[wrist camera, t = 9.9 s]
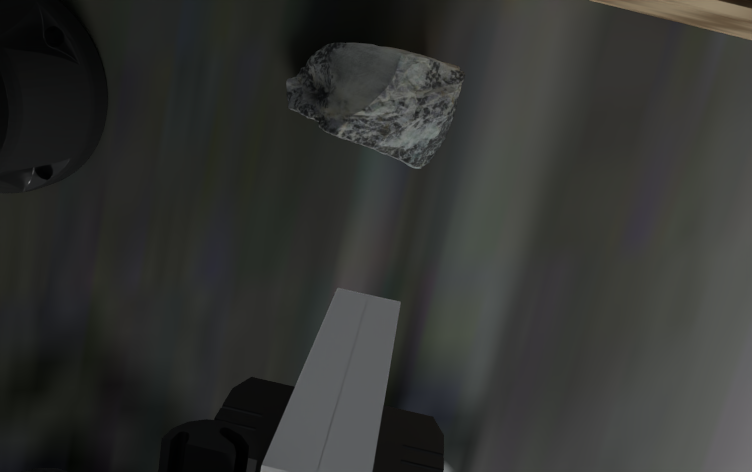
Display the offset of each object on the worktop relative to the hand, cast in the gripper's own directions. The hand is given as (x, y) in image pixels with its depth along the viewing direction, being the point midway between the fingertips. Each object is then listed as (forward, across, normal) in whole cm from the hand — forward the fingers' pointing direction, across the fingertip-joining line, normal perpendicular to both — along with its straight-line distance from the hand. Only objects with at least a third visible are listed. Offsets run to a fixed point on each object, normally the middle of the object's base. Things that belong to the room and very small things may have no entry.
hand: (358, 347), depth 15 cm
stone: (+32, -3, +3) cm, 33 cm away
